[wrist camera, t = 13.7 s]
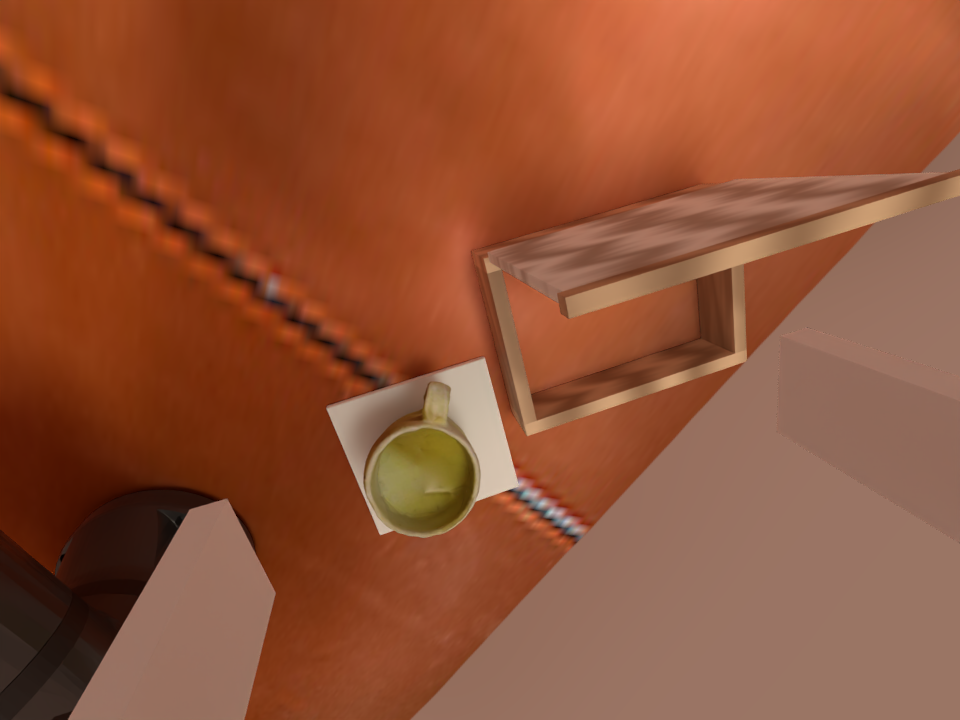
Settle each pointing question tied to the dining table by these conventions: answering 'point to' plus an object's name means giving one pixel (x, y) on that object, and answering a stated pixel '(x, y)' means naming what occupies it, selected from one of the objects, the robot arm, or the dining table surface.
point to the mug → (423, 470)
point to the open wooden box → (675, 271)
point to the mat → (380, 408)
